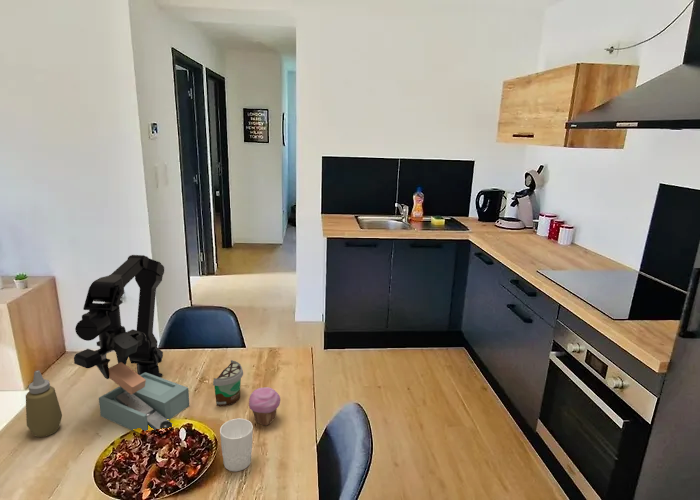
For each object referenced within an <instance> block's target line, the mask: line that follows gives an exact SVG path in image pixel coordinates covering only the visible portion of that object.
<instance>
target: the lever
mask: <svg viewBox="0 0 700 500" xmlns="http://www.w3.org/2000/svg"><path fill="white" fill-rule="evenodd" d="M115 400H117V401H118V402H119V403H121V404H122V405H125V406H127V407H129V408H132V409H134V410H137V411H139V412H142V413H144V414H146V415H147V423H148V425H149V426H150V427H151V428H153V429H154V431H155V430H156V429H160V428H161V429H162V428H169V427H172V424H173V423H172V422H171V421H170V420H167V419H166V418H164V417H163V416H162V415H160V414H159V413H158V412H157V411H156V410H155V409H153V408H151V407H150V406H149V405H147V404H146V403H145V402H143V401H142V400H141V399H139V398H138V397H137V396H135V395H134V394H132V395H131V394H130V393H128V392H127V391H125V392H123V393H122V394H120V395H118V396H116V399H115Z"/></svg>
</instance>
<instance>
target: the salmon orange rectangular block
mask: <svg viewBox="0 0 700 500" xmlns="http://www.w3.org/2000/svg"><path fill="white" fill-rule="evenodd" d="M108 368H109V379H110V380H111V381H113V382H114V384H117V385H118V387H119V386H120V387H122V388H123V389H124V390H126V391H127V392H128V393H130V394H131V395H132V394H133V393H135V392H137V391H139V390H140V389H142V388H144V387H145V382H146V380H145V379H144V378H143V377H141V376H140V375H139V374H138V373H137V372H136V371H134V370H133V369H132V368H130V367H129V366H127V364H126V365H125V364H124V363H122V362H120V363H118V362H117V364H115V365H112V366H110V367H108Z"/></svg>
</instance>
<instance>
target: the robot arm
mask: <svg viewBox="0 0 700 500" xmlns="http://www.w3.org/2000/svg"><path fill="white" fill-rule="evenodd" d="M164 274H165V266H164V265H163V264H162V263H161V262H160V261H158V260H155V259H151V258H149V257H148V256H146V255H144V254H143V255H142V254H131V255H128V257H127V259H126V260H125V261H124V262H123V263H122V264H120V266H119V267H117V268H116V269H115V270H114V271H113V272H112V273H110V274H109V275H106V276H101V277H99V278H97V279H95V280H94V281H92V283H91V284H90V286H89V287H88V290H87V293H86V298H85V301H84V305H83V311H87V312H86V313H83V314H82V315H81V320H79V321H78V322H76V323H77V324H76V325H75V328H74V329H75V333H76V336H77V337H78V338H80V339H81V340H84V341H88V342H89V341H93V340H95V339H96V338H97V337H98V341H96V346H97V347H99V348H98V349H96V350H93V349H91V348H86V349H84V350H81V351H79V352H77V353H75V354H74V356H73V363H74V364H75V365H78V366H80V367H82V368H85V369H91V368H93V367H97V369H98V371H100V372H101V373H100V374H102V376H103V377H104V379H106V380H109V379H110V378H109V368H110V367H109V363H110V361H111V359H109V358H107V354H109V353H111V352H113V351H114V352H115V355H116V360H117V364H118V363H120V362H122V363H124V364H125V365H126V366H127V362H128V359H129V362H130V364H135V365H136V369H137V372H136V373H137V374H139V375H141V374H143V373H145V372H146V373H149V374H152V375H155V376H157V377H160V378H162V377H163V376H164V374H163V373H160V367H159V364H160V363H162V362H163V360H162V359H163V357H164V352H163V351H162V350H161V349H160V348H159V347H158V340H157V338H156V336H155V334H154V332H153V331H154V321H155V320H154V319H155V318H154V317H155V306H156V296H157V295H156V293H157V288H158V287H159V286H160V284H161V283H162V281H163V275H164ZM133 279H134V280H135V282H136V283H137V286H138V287H139V293H138V307H137V310H138V311H137V321H136V329H133V328H132V329H131V330H128V331H126V328H125V326H124V325H122V319H121V310H120V305H122V304H123V303H124V302H123V300H122V297H123V295H124V294H125V287H126V286H127V285H128V284H129V283H130V282H131V281H132V280H133Z"/></svg>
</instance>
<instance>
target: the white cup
mask: <svg viewBox="0 0 700 500" xmlns="http://www.w3.org/2000/svg"><path fill="white" fill-rule="evenodd" d="M253 429H254V428H253V423H252V422H251V421H250V420H249V419H246V418H233V419H229V420H227V421H225V422H224V423H223V424H222V425H221V426H220V428H219V433H220V434H219V435H220V437H219V438H220V445H221V446H220V447H221V454H222V460H223V461H222V463H223V465H224V468H225V469H227V470H228V471H229V472H239V471H243V470H245V469H247V468H248V467H249V466H250V464H251V462H252V451H253V435H254V434H253V432H254V431H253Z"/></svg>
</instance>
